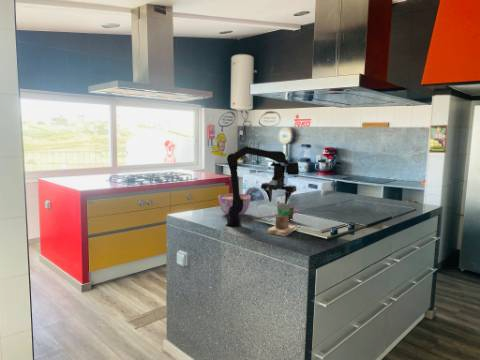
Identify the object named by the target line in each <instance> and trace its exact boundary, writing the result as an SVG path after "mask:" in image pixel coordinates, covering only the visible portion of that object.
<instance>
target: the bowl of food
mask: <svg viewBox="0 0 480 360" xmlns="http://www.w3.org/2000/svg"><path fill="white" fill-rule="evenodd" d="M239 194H240V197H241V198H242V197H243V203H244V207H243V210H242V211H241V212H240V213H239V214H240V217H241V216H242V215H244V214H246V212H247V211H248V209H249V206H250V202H251V198H252V196H251V195H248V194H245V193H239ZM217 198H218V203H219V207H220V210H221V211H222V213H224V214H226V215H227V214H228V210H229V208H230V207H231V206H232V203H233V193H224V194H219V195H218V197H217Z"/></svg>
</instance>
